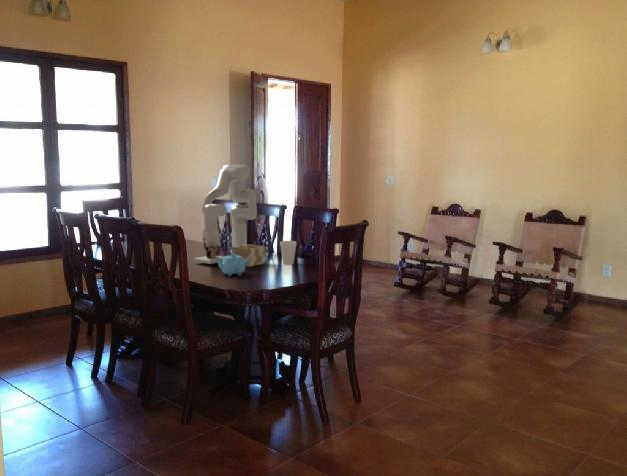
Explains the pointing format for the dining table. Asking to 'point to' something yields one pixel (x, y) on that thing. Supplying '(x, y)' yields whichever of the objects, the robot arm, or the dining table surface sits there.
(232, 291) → the dining table surface
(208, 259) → the lid
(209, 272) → the dining table surface
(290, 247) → the foam cup
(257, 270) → the dining table surface
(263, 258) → the box
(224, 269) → the teapot
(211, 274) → the dining table surface
